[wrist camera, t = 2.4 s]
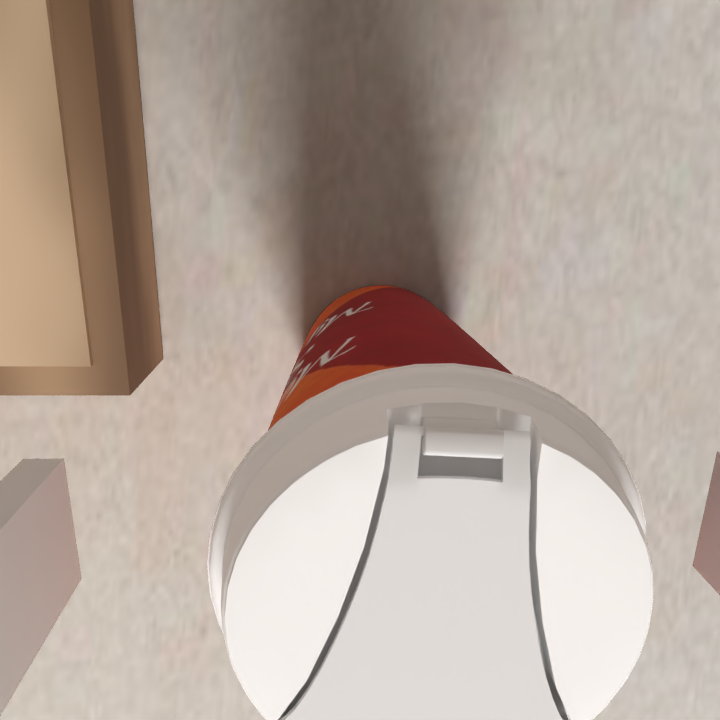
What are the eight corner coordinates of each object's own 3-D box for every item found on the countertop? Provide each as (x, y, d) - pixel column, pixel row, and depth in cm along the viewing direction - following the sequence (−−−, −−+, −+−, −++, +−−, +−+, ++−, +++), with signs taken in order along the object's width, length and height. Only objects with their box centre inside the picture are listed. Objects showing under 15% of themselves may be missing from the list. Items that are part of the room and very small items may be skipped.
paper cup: (279, 247, 21) (187, 378, 8) (493, 261, 22) (743, 407, 8) (273, 449, 24) (193, 809, 10) (467, 458, 24) (630, 816, 11)
